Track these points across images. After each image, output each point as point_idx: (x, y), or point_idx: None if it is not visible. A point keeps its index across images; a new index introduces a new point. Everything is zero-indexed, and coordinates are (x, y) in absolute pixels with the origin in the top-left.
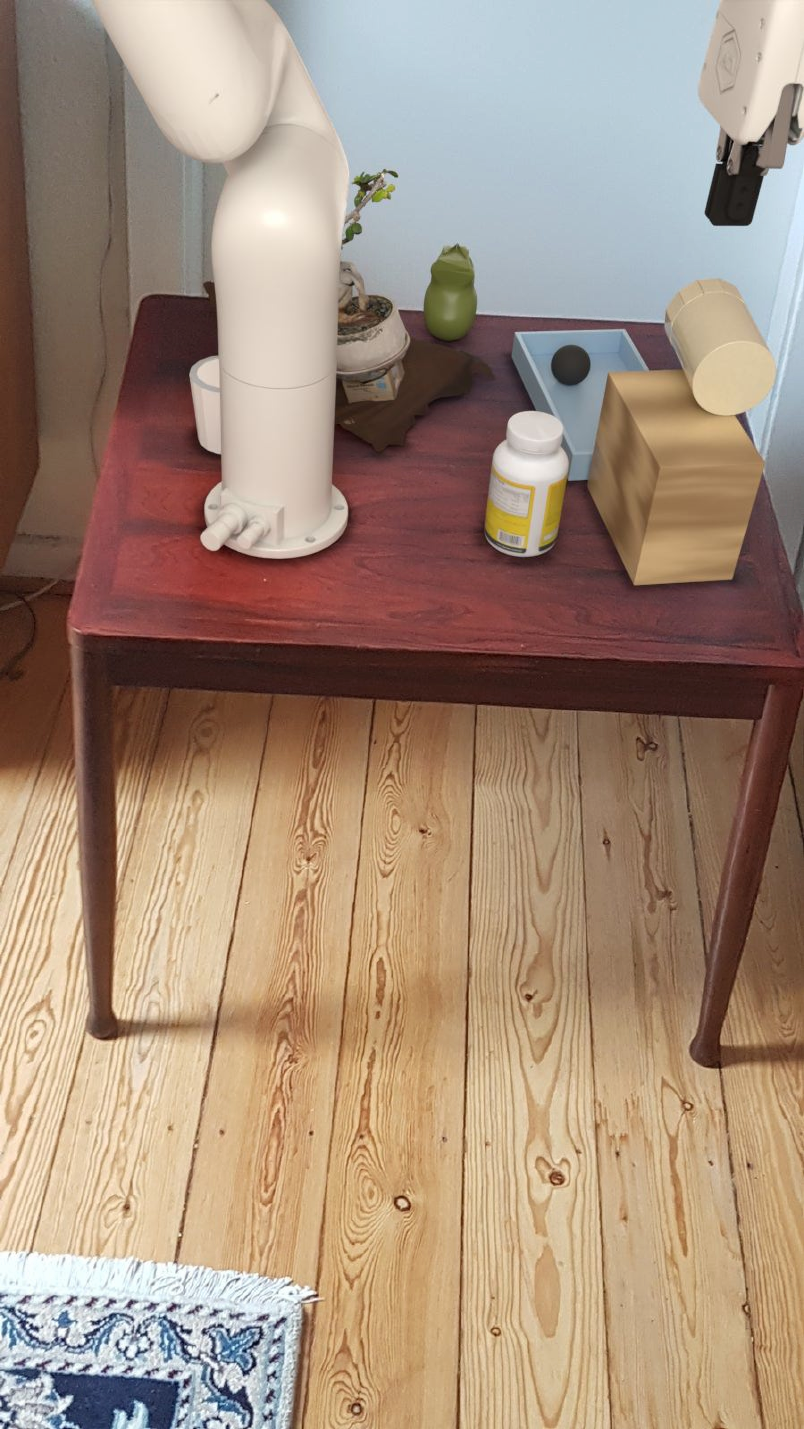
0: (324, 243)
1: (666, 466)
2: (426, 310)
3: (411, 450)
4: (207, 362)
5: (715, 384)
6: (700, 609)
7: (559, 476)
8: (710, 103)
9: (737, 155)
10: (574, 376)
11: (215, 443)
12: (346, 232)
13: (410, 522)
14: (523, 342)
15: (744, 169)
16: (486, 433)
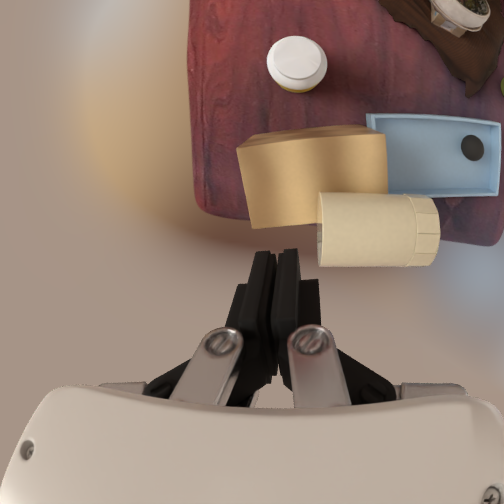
0: None
1: (237, 153)
2: None
3: (390, 24)
4: None
5: (319, 212)
6: (234, 171)
7: (275, 80)
8: (312, 448)
9: (185, 372)
10: (462, 146)
11: None
12: None
13: (308, 11)
14: (491, 124)
15: (188, 361)
16: (415, 75)
